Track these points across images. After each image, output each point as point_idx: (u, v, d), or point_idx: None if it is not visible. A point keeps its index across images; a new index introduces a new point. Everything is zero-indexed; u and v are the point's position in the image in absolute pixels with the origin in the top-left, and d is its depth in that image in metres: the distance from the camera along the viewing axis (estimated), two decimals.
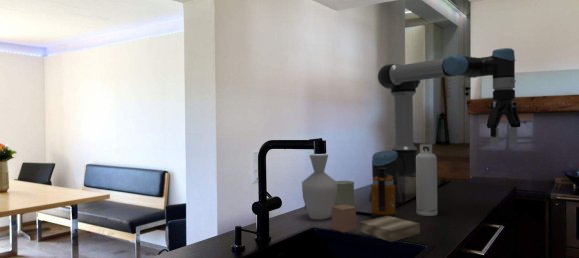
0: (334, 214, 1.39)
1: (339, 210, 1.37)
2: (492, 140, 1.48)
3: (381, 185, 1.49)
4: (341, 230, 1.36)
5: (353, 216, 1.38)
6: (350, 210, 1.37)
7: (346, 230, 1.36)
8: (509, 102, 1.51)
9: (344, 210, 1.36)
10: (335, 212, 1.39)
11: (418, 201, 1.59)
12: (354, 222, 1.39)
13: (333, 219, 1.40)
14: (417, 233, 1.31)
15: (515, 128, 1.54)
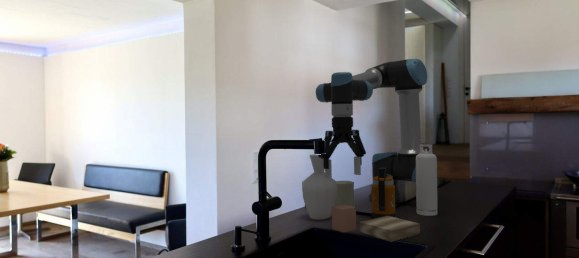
0: (334, 214, 1.39)
1: (339, 210, 1.37)
2: (326, 172, 1.36)
3: (381, 185, 1.49)
4: (341, 230, 1.36)
5: (353, 216, 1.38)
6: (350, 210, 1.37)
7: (346, 230, 1.36)
8: (348, 130, 1.39)
9: (344, 210, 1.36)
10: (335, 212, 1.39)
11: (418, 201, 1.59)
12: (354, 222, 1.39)
13: (333, 219, 1.40)
14: (417, 233, 1.31)
15: (358, 158, 1.42)
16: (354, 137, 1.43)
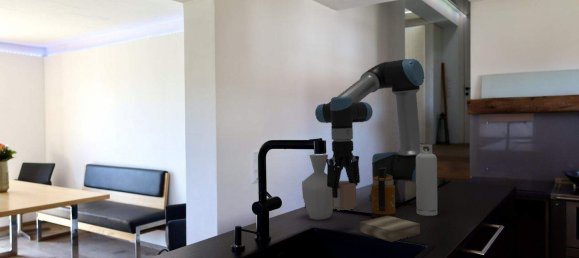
0: None
1: (339, 187, 1.37)
2: (335, 201, 1.38)
3: (381, 185, 1.49)
4: (342, 207, 1.37)
5: (353, 193, 1.38)
6: (350, 187, 1.38)
7: (347, 206, 1.37)
8: (349, 153, 1.40)
9: (344, 187, 1.36)
10: None
11: (418, 201, 1.59)
12: (355, 199, 1.39)
13: None
14: (417, 233, 1.31)
15: None
16: (353, 163, 1.43)
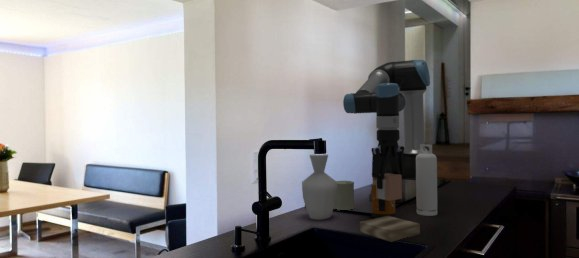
0: None
1: (385, 177, 1.31)
2: (379, 192, 1.32)
3: None
4: (387, 198, 1.30)
5: (399, 184, 1.32)
6: (396, 178, 1.31)
7: (392, 198, 1.30)
8: (395, 142, 1.34)
9: (390, 177, 1.30)
10: None
11: (418, 201, 1.59)
12: (400, 191, 1.32)
13: None
14: (417, 233, 1.31)
15: None
16: (397, 153, 1.36)
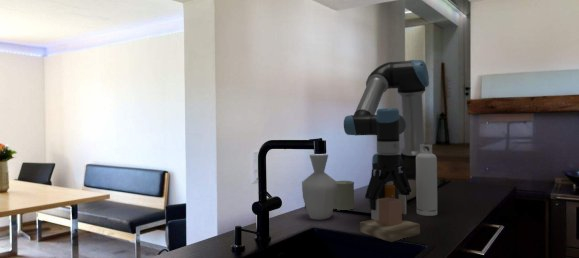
0: (379, 207, 1.33)
1: (385, 203, 1.31)
2: (372, 213, 1.30)
3: None
4: (387, 224, 1.30)
5: (399, 209, 1.32)
6: (396, 203, 1.31)
7: (392, 224, 1.31)
8: (395, 168, 1.34)
9: (390, 203, 1.30)
10: (380, 205, 1.33)
11: (418, 201, 1.59)
12: (400, 215, 1.33)
13: None
14: (417, 233, 1.31)
15: (404, 196, 1.36)
16: (399, 174, 1.37)
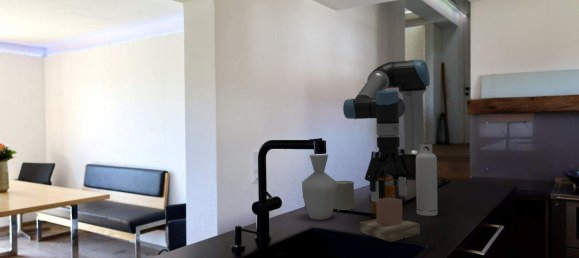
0: (379, 206, 1.33)
1: (385, 202, 1.31)
2: (372, 195, 1.31)
3: (381, 185, 1.49)
4: (387, 223, 1.31)
5: (399, 209, 1.32)
6: (396, 203, 1.32)
7: (392, 223, 1.31)
8: (394, 150, 1.34)
9: (391, 202, 1.30)
10: (380, 204, 1.33)
11: (418, 201, 1.59)
12: (400, 215, 1.33)
13: (378, 212, 1.34)
14: (417, 233, 1.31)
15: (404, 178, 1.37)
16: (399, 157, 1.37)
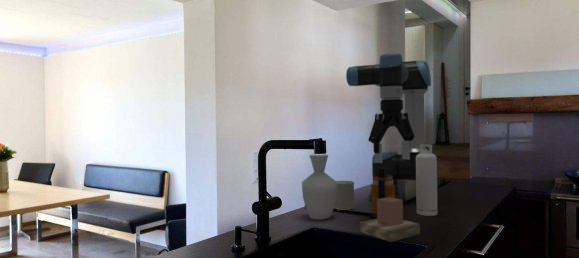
0: (380, 207, 1.33)
1: (386, 203, 1.31)
2: (376, 156, 1.32)
3: (381, 185, 1.49)
4: (388, 223, 1.30)
5: (400, 209, 1.32)
6: (397, 203, 1.31)
7: (393, 224, 1.30)
8: (398, 113, 1.35)
9: (392, 203, 1.30)
10: (381, 204, 1.33)
11: (418, 201, 1.59)
12: (401, 216, 1.33)
13: (379, 212, 1.34)
14: (417, 233, 1.31)
15: (407, 142, 1.38)
16: (402, 120, 1.39)
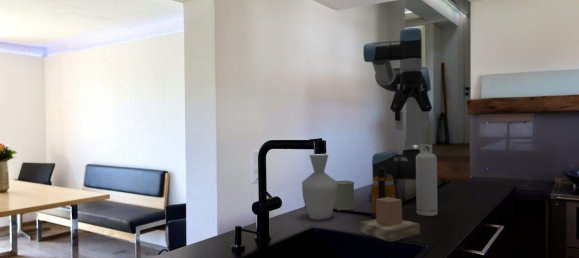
0: (379, 207, 1.33)
1: (385, 202, 1.31)
2: (397, 124, 1.41)
3: (381, 185, 1.49)
4: (387, 223, 1.31)
5: (399, 209, 1.32)
6: (396, 203, 1.32)
7: (392, 223, 1.31)
8: (417, 85, 1.44)
9: (390, 202, 1.30)
10: (380, 204, 1.33)
11: (418, 201, 1.59)
12: (400, 215, 1.33)
13: (378, 212, 1.34)
14: (417, 233, 1.31)
15: (425, 112, 1.47)
16: (421, 92, 1.48)
